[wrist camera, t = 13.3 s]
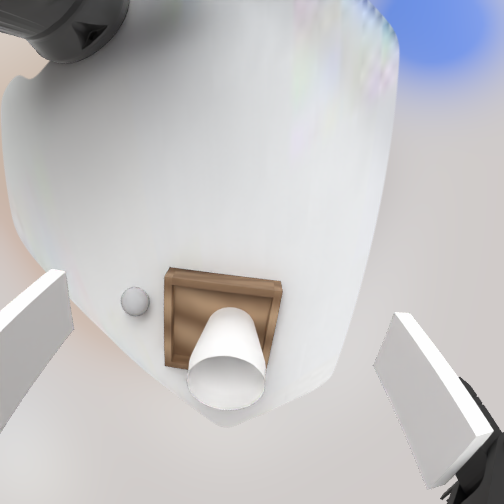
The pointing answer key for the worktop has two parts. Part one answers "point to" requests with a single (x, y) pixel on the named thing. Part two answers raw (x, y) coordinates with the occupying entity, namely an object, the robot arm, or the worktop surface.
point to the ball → (135, 301)
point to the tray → (214, 308)
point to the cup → (227, 362)
